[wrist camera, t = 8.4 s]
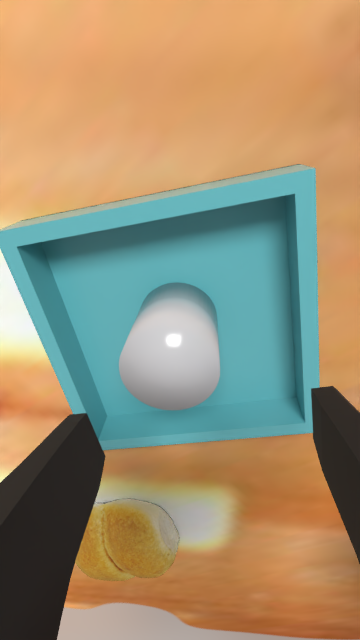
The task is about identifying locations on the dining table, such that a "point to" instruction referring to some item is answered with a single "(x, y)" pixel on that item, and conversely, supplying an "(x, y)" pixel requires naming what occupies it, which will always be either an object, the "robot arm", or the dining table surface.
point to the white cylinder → (172, 348)
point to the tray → (191, 268)
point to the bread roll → (127, 541)
